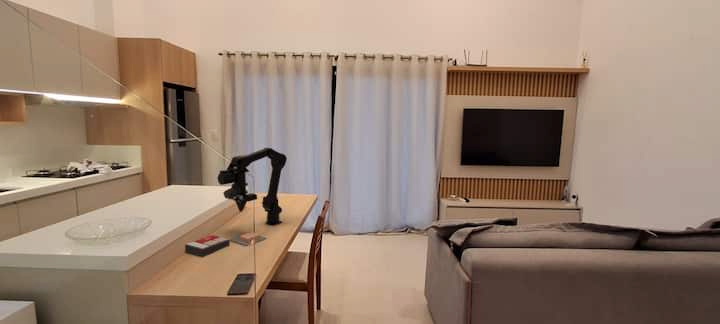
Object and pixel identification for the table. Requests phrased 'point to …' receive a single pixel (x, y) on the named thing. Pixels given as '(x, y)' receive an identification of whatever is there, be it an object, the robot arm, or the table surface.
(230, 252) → the table surface
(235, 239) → the mat
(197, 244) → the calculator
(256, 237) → the block
